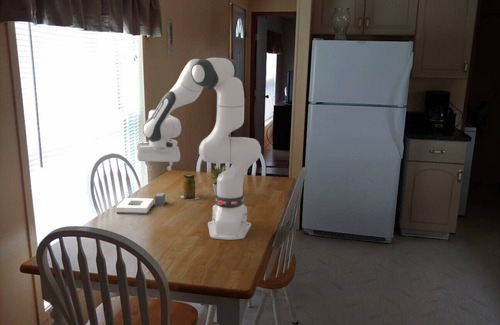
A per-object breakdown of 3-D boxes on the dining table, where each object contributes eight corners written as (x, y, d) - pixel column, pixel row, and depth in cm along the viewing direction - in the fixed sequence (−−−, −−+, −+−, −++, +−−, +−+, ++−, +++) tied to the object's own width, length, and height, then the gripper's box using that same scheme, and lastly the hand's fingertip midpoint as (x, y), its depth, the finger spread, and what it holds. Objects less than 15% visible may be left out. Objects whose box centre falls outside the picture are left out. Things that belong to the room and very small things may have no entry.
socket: (146, 214, 205) (146, 208, 204) (116, 213, 205) (116, 207, 204) (153, 204, 218) (153, 198, 218) (125, 203, 218) (125, 197, 218)
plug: (163, 205, 217) (163, 196, 215) (155, 205, 217) (154, 195, 216) (165, 202, 222) (165, 192, 220) (157, 202, 222) (157, 192, 220)
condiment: (191, 194, 235) (191, 172, 232) (200, 198, 229) (200, 176, 226) (179, 196, 230) (179, 174, 228) (188, 201, 224) (188, 178, 221)
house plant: (229, 200, 226) (229, 169, 222) (203, 198, 229) (203, 167, 225) (235, 192, 240) (236, 162, 236) (211, 190, 242) (211, 161, 238)
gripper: (134, 143, 209) (136, 171, 212) (178, 144, 208) (178, 172, 212) (138, 140, 215) (139, 167, 218) (180, 141, 215) (181, 169, 218)
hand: (159, 170), depth 215 cm, fingers open, 8 cm apart
